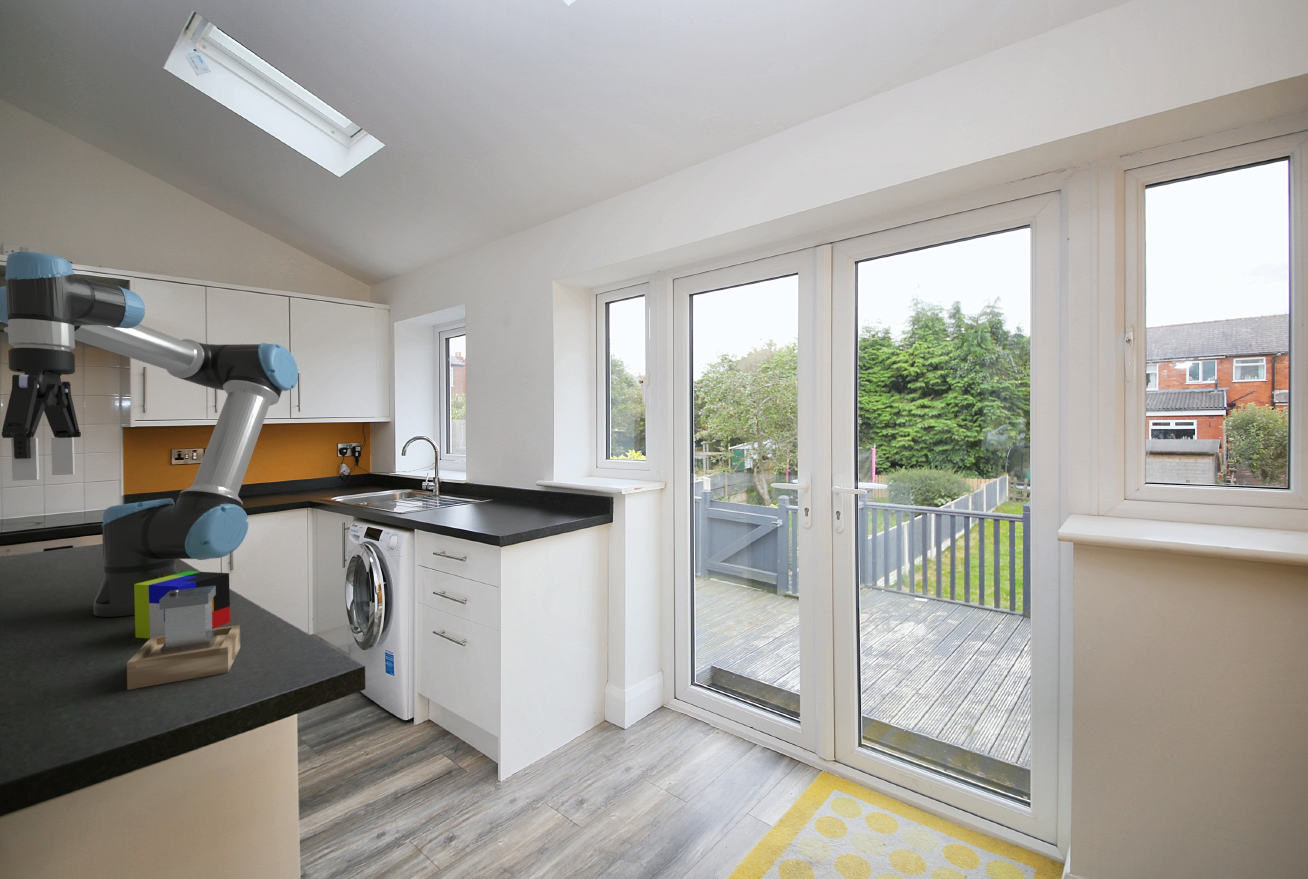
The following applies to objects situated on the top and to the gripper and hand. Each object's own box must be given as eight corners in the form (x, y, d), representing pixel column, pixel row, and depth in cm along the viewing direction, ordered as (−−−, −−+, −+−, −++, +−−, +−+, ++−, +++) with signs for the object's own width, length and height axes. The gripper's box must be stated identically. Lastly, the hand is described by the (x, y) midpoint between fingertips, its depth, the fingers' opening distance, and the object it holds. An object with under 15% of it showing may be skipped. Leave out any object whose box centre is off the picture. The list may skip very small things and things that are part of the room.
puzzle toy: (179, 641, 104) (177, 586, 104) (135, 637, 106) (134, 584, 106) (230, 622, 114) (229, 573, 113) (189, 620, 116) (188, 571, 115)
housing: (216, 638, 96) (215, 582, 96) (209, 650, 91) (207, 590, 91) (171, 645, 93) (169, 587, 93) (160, 658, 88) (159, 596, 88)
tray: (151, 661, 94) (151, 637, 94) (240, 647, 100) (239, 624, 100) (127, 689, 84) (126, 662, 84) (228, 672, 90) (227, 647, 89)
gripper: (45, 357, 103) (48, 473, 104) (-35, 336, 82) (-30, 484, 82) (100, 359, 107) (103, 471, 107) (38, 339, 85) (42, 481, 85)
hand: (45, 477), depth 95 cm, fingers open, 13 cm apart
